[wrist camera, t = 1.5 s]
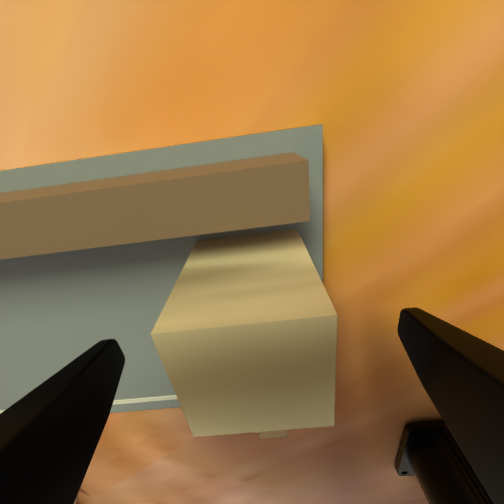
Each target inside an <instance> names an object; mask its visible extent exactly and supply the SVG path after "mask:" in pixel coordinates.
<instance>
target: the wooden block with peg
mask: <svg viewBox="0 0 504 504" xmlns="http://www.w3.org/2000/svg"><path fill="white" fill-rule="evenodd" d="M151 337H152V339H153V341H154V344H155V346H156V349H157V351H158V353H159V356H160V358H161V360H162V363H163V365H164V368H165V370H166V372H167V375H168V377H169V379H170V382H171V384H172V387H173V389H174V391H175V394H176V396H177V398H178V401H179V403H180V406H181V408H182V410H183V413H184V415H185V417H186V420H187V422H188V425H189V427H190V429H191V432H192V434H193V436H194V437H202V436H214V435H227V434H240V433H252V432H258V433H259V438H260V439H268V438H281V437H288V433H287V430H291V429H303V428H316V427H329V426H334V414H335V381H336V348H337V313H336V311H335V308H334V306H333V304H332V302H331V300H330V298H329V296H328V294H327V291H326V289H325V287H324V285H323V283H322V281H321V279H320V277H319V274H318V272H317V270H316V268H315V266H314V264H313V262H312V260H311V257H310V255H309V253H308V251H307V249H306V247H305V245H304V243H303V240H302V238H301V236H300V234H299V232H298V230H297V229H290V230H281V231H273V232H265V233H257V234H249V235H241V236H233V237H225V238H216V239H208V240H200V241H196V243H195V245H194V247H193V249H192V251H191V253H190V255H189V257H188V259H187V261H186V263H185V265H184V267H183V269H182V271H181V273H180V275H179V277H178V279H177V281H176V283H175V285H174V287H173V290H172V292H171V294H170V296H169V298H168V300H167V302H166V304H165V306H164V308H163V310H162V312H161V314H160V316H159V318H158V320H157V322H156V324H155V326H154V328H153V330H152V332H151Z"/></svg>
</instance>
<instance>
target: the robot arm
mask: <svg viewBox="0 0 504 504" xmlns="http://www.w3.org/2000/svg"><path fill="white" fill-rule="evenodd" d="M398 335H399V338H400V340H401V342H402V344H403V346H404V348H405V350H406V352H407V354H408V356H409V358H410V361H411V363H412V365H413V367H414V369H415V371H416V373H417V375H418V377H419V379H420V381H421V383H422V385H423V387H424V389H425V390H426V392H427V394H428V396H429V397H430V399H431V400H432V402H433V404H434V405H435V407H436V409H437V410H438V412H439V414H440V415H441V417H442V419H443V420H438V421H425V422H413V423H410V424H408V425H406V427H405V431H404V435H403V438H402V442H401V446H400V450H399V454H398V457H397V461H396V465H395V469H396V471H397V474H398V475H399V476H411V475H416V477H417V479H418V481H419V483H420V485H421V488H422V490H423V492H424V494H425V496H426V498H427V500H428V502H429V504H504V351H503V350H501V349H499V348H497V347H495V346H493V345H491V344H489V343H487V342H485V341H483V340H481V339H479V338H477V337H475V336H473V335H471V334H469V333H467V332H465V331H463V330H461V329H459V328H457V327H455V326H453V325H451V324H449V323H447V322H445V321H443V320H441V319H439V318H437V317H435V316H433V315H431V314H429V313H427V312H425V311H423V310H421V309H419V308H415V307H414V308H404V309H402V310H401V312H400V318H399V323H398ZM124 365H125V356H124V353H123V352H122V350H121V348H120V346H119V344H118V342H117V340H115V339H104V340H101V341H99V342H98V343H96V344H95V345H93V346H92V347H91V348H89V349H88V350H87V351H85V352H84V353H83V354H81V355H80V356H78V357H77V358H76V359H74V360H73V361H72V362H70V363H69V364H67V365H66V366H65V367H63V368H62V369H61V370H59V371H58V372H57V373H55V374H54V375H52V376H51V377H50V378H48V379H47V380H46V381H44V382H43V383H42V384H40V385H39V386H37V387H36V388H35V389H33V390H32V391H31V392H29V393H28V394H27V395H25V396H24V397H22V398H21V399H20V400H18V401H17V402H16V403H14V404H13V405H11V406H10V407H9V408H7V409H6V410H5V411H3V412H2V413H1V414H0V504H74V502H75V499H76V497H77V494H78V492H79V489H80V487H81V484H82V482H83V479H84V477H85V474H86V472H87V469H88V467H89V464H90V462H91V459H92V457H93V454H94V452H95V449H96V447H97V444H98V442H99V439H100V437H101V434H102V432H103V429H104V427H105V424H106V422H107V419H108V417H109V414H110V411H111V408H112V405H113V402H114V398H115V395H116V391H117V388H118V385H119V381H120V378H121V375H122V371H123V368H124Z"/></svg>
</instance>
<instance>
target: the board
mask: <svg viewBox="0 0 504 504" xmlns="http://www.w3.org/2000/svg"><path fill="white" fill-rule="evenodd" d="M290 229H297V230H298V232H299V234H300V236H301V238H302V240H303V243H304V245H305V247H306V249H307V251H308V253H309V255H310V257H311V260H312V262H313V264H314V266H315V268H316V270H317V272H318V274H319V277H320V279H321V281H322V283H323V125H312V126H306V127H299V128H292V129H285V130H278V131H271V132H264V133H257V134H251V135H244V136H237V137H230V138H223V139H216V140H209V141H202V142H196V143H189V144H182V145H175V146H168V147H161V148H154V149H147V150H141V151H134V152H127V153H120V154H113V155H106V156H99V157H92V158H86V159H79V160H72V161H65V162H58V163H51V164H44V165H37V166H31V167H24V168H17V169H10V170H3V171H0V414H1V413H2V412H3V411H5V410H6V409H7V408H9V407H10V406H11V405H13V404H14V403H16V402H17V401H18V400H20V399H21V398H22V397H24V396H25V395H27V394H28V393H29V392H31V391H32V390H33V389H35V388H36V387H37V386H39V385H40V384H42V383H43V382H44V381H46V380H47V379H48V378H50V377H51V376H52V375H54V374H55V373H57V372H58V371H59V370H61V369H62V368H63V367H65V366H66V365H67V364H69V363H70V362H72V361H73V360H74V359H76V358H77V357H78V356H80V355H81V354H83V353H84V352H85V351H87V350H88V349H89V348H91V347H92V346H93V345H95V344H96V343H98V342H99V341H101V340H104V339H115V340H117V342H118V344H119V346H120V348H121V350H122V352H123V353H124V356H125V365H124V368H123V371H122V375H121V378H120V381H119V385H118V388H117V391H116V395H115V398H114V402H113V405H112V408H111V411H110V413H116V412H128V411H140V410H152V409H163V408H175V407H181V406H180V403H179V401H178V398H177V396H176V394H175V391H174V389H173V387H172V384H171V382H170V379H169V377H168V375H167V372H166V370H165V368H164V365H163V363H162V360H161V358H160V356H159V353H158V351H157V349H156V346H155V344H154V341H153V339H152V337H151V332H152V330H153V328H154V326H155V324H156V322H157V320H158V318H159V316H160V314H161V312H162V310H163V308H164V306H165V304H166V302H167V300H168V298H169V296H170V294H171V292H172V290H173V287H174V285H175V283H176V281H177V279H178V277H179V275H180V273H181V271H182V269H183V267H184V265H185V263H186V261H187V259H188V257H189V255H190V253H191V251H192V249H193V247H194V245H195V243H196V241H200V240H208V239H216V238H225V237H233V236H241V235H249V234H257V233H265V232H273V231H281V230H290Z"/></svg>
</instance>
